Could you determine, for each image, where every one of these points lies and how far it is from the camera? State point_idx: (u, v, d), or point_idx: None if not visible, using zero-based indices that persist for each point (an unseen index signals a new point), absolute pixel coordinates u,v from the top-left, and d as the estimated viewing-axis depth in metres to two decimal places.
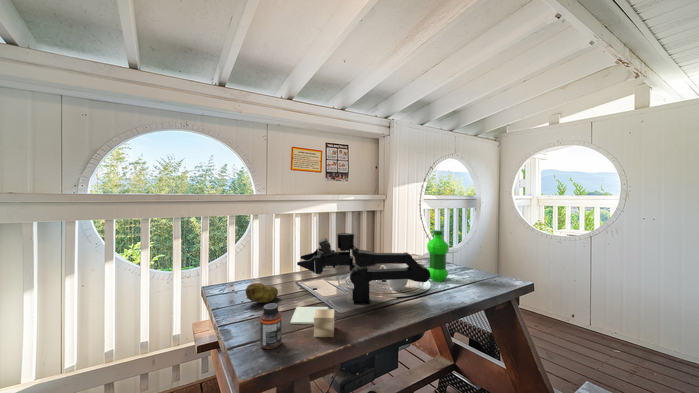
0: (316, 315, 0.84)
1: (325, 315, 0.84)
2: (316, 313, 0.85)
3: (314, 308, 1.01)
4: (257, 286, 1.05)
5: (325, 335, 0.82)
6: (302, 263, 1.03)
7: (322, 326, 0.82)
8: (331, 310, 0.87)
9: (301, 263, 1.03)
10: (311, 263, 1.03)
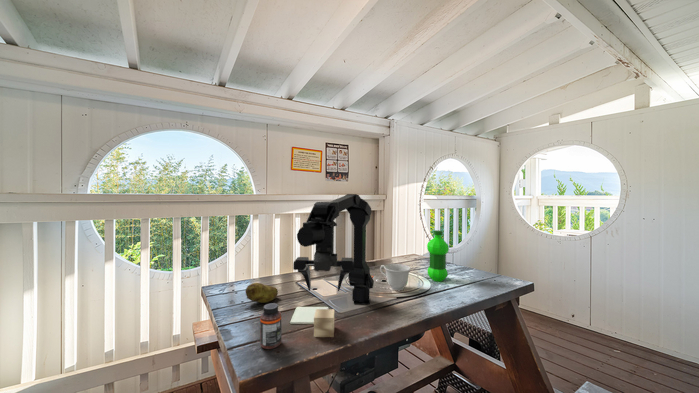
0: (316, 315, 0.84)
1: (325, 315, 0.84)
2: (316, 313, 0.85)
3: (314, 308, 1.01)
4: (257, 286, 1.05)
5: (325, 335, 0.82)
6: None
7: (322, 326, 0.82)
8: (331, 310, 0.87)
9: (340, 285, 0.85)
10: None
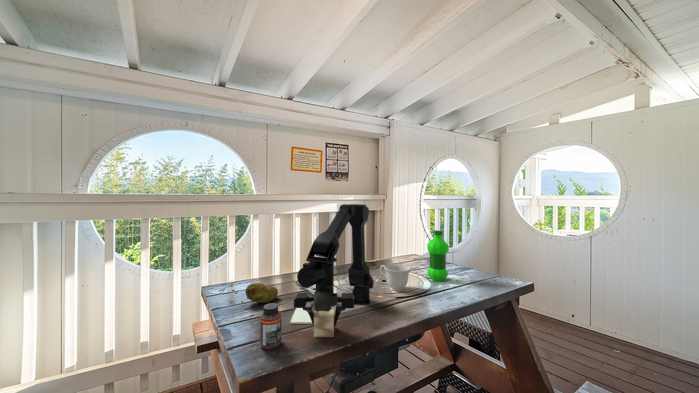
0: (316, 315, 0.84)
1: (325, 315, 0.84)
2: (316, 313, 0.85)
3: None
4: (257, 286, 1.05)
5: (325, 335, 0.82)
6: None
7: (322, 326, 0.82)
8: (331, 310, 0.87)
9: (336, 321, 0.85)
10: None
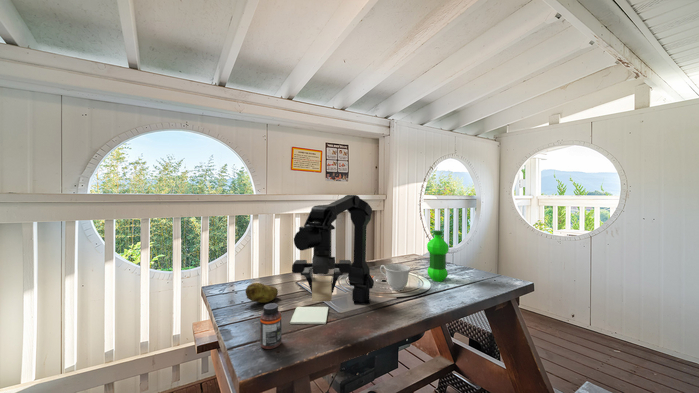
0: (314, 280, 0.85)
1: (323, 280, 0.85)
2: (314, 279, 0.87)
3: (314, 308, 1.01)
4: (257, 286, 1.05)
5: (323, 299, 0.84)
6: (334, 286, 0.87)
7: (320, 291, 0.84)
8: (329, 276, 0.89)
9: None
10: None
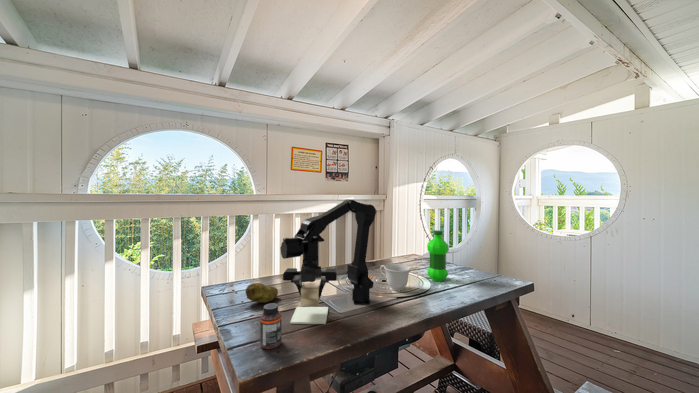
0: (303, 287, 0.95)
1: (311, 287, 0.95)
2: (303, 285, 0.96)
3: (314, 308, 1.01)
4: (257, 286, 1.05)
5: (311, 304, 0.93)
6: (321, 292, 0.96)
7: (308, 296, 0.93)
8: (317, 283, 0.98)
9: None
10: None
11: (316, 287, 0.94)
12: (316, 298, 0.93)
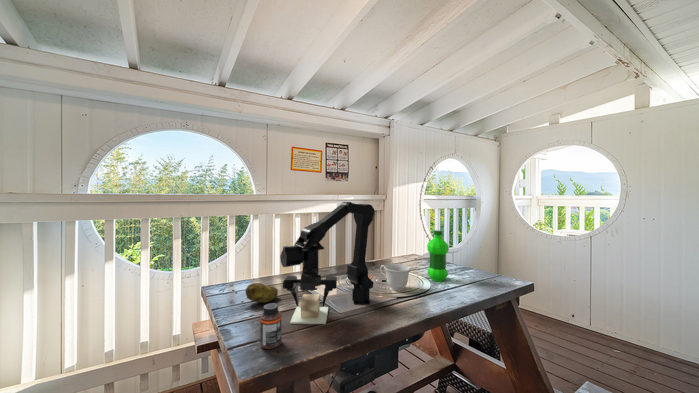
0: (303, 299, 0.95)
1: (311, 299, 0.95)
2: (303, 297, 0.96)
3: None
4: (257, 286, 1.05)
5: (310, 316, 0.93)
6: (325, 300, 0.96)
7: (308, 308, 0.93)
8: (317, 295, 0.98)
9: None
10: None
11: (316, 299, 0.95)
12: (316, 310, 0.93)
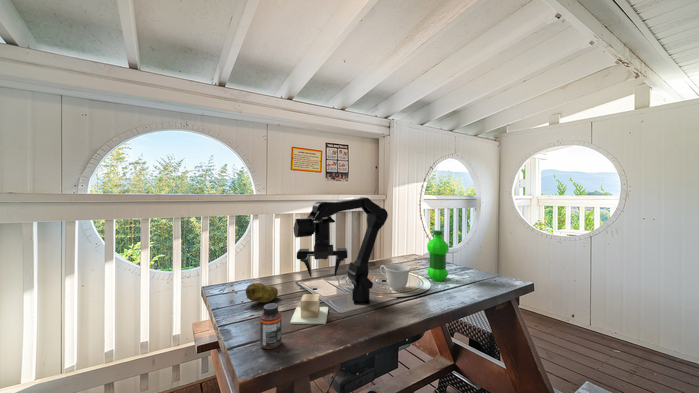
0: (303, 299, 0.95)
1: (311, 299, 0.95)
2: (303, 297, 0.96)
3: None
4: (257, 286, 1.05)
5: (310, 316, 0.93)
6: None
7: (308, 308, 0.93)
8: (317, 295, 0.98)
9: (336, 271, 1.01)
10: None
11: (316, 299, 0.95)
12: (316, 310, 0.93)
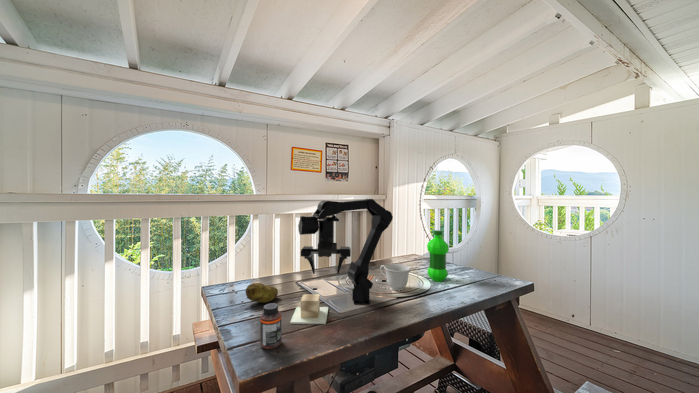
0: (303, 299, 0.95)
1: (311, 299, 0.95)
2: (303, 297, 0.96)
3: None
4: (257, 286, 1.05)
5: (310, 316, 0.93)
6: None
7: (308, 308, 0.93)
8: (317, 295, 0.98)
9: (339, 269, 1.03)
10: None
11: (316, 299, 0.95)
12: (316, 310, 0.93)
